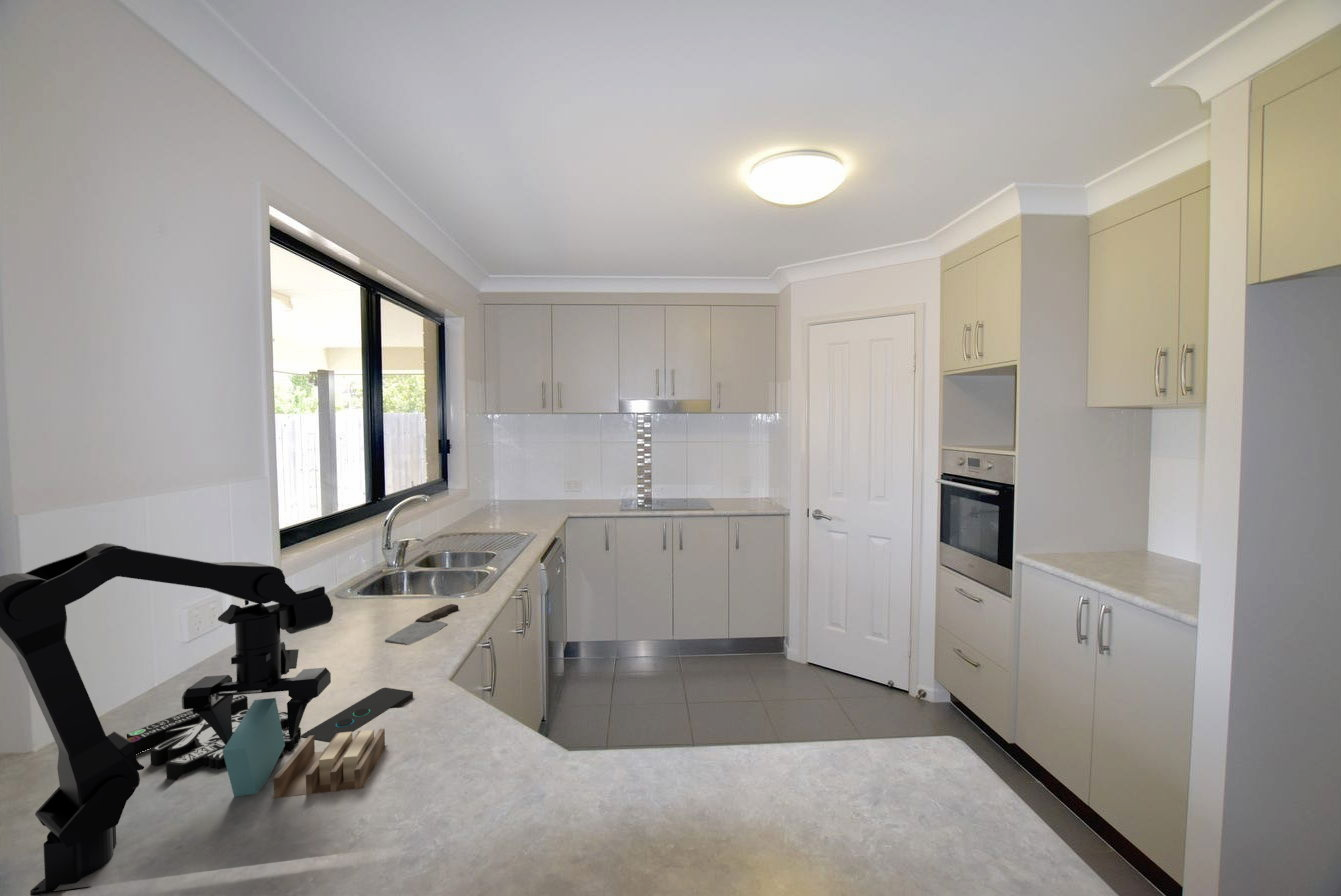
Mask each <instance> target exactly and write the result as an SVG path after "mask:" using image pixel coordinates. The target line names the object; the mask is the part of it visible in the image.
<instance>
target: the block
mask: <svg viewBox="0 0 1341 896" xmlns="http://www.w3.org/2000/svg"><path fill="white" fill-rule="evenodd" d="M248 709H249V710H248V711H247V713H246V714H245V716H244V717H243V719H242V721H241V722H240V724H239V725H238V727H237V729H236V730H235V732H234V733H233V735H232V736H231V738H230V740H229V741H228V743H227V744H226V746H225V748H224V749H223V755H224V759H225V763H226V767H225V768H226V770H227V775H228V778H229V781H230V786H231V791H232V794H233V797H241V796H250V795H256V794H258V793H259V792H260V790H261V789H262V788H263V786H264V785H265V784H266V783H267V782H268V780H269V779H270V776H271V774H272V773H273V770H274V768H275V766H276V764H277V762H278V760H279V759H278V758H279V756H280V754H281V752H282V750H283V749H284V747H285V742H284V737H283V732H282V728H281V723H280V718H279V713H280V712H279V710H278V703H277V699H276V697H273V698H271V697H270V698H263V699H254V700H253V702H252V703H251V705H250V706H249V707H248Z"/></svg>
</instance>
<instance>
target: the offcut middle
mask: <svg viewBox="0 0 1341 896" xmlns="http://www.w3.org/2000/svg"><path fill="white" fill-rule="evenodd" d="M352 740H353V732H342V733H339V734H338V735H337V737H336V738H335V739H334V741H333V742H332V743H331V745H330V746H329V747H328V749H327V750H326V751H325V753H324V754H323V755H322V757H321V758H320V759H319V773H320V785H326V784H331V783H330V772H331V770H332V769H333V767H334V766H335V765H336V763H337V762H338V760H339V759H340V757H341V756H342V754H343V753H344V751H345V750H346V749H347V747H348V746H349V744H350V743H351V741H352Z"/></svg>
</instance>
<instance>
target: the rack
mask: <svg viewBox="0 0 1341 896" xmlns="http://www.w3.org/2000/svg"><path fill="white" fill-rule="evenodd" d="M361 731H362V730H358V731H357V733H356V734H355V736H354V737H352V741H351V743H350V744H349V746H348V747H347V749H346V750H345V751H344V753H343V754H342V756H341V757H340V759H339V760H338V762H337V763H336V765H335V766H334V767H333V769H332V770H331V772H330V783H331V784H326V785H320V773H319V759H320V758H321V757H322V755H323V754H324V753H325V751H326V750H327V749H328V747H329V746H330V745H331V743H332V742H333V741H334V739H335V738H336V737H337V735H338V734H339V733H337V734H336V735H335V737H334V738H333V739H332V741H331V742H328V745H327V746H326V747H325V749H324V750H323V751H316V750H315V749H316V748H315V740H314V735H311V736H308V738H305V740H304V741H303V742H302V743H301V744H300V745H299V747H298V748H297V749H296V751H295V752H294V753H293V754H292V756H291V757H290V758H289V759H288V760H287V761H286V762H285V764H284V765H283V766H282V768H281V769H279V771H278V772H277V773H276V774H275V775H274V777H273V779H272V780H273V795H272V796H271V799H277V798H278V799H279V798H289V797H296V796H305V795H314V794H315V795H316V794H323V793H324V794H325V793H331V792H332V793H333V792H341V791H342V792H343V791H348V790H349V791H351V790H359V789H364V787H366V784H367V782H368V780H369V779H370V777H371V776H372V774H373V771H374V770H375V768H376V766H377V765H378V762H380V759H381V757H382V756H383V754H384V753H385V750H386V748H387V746H388V745H387V744H386V739H385V738H386V736H385V734H386V733H385V728H379V729H378V731H377V733H376V734H375V735H374V739H373V740H372V742H371V744H370V745H369V747H368V749H367V750H366V752H365V753H364V755H363V757H362V758H361V760H360V761H359V763H358V765H357V766H356V768H355V769H354V774H355V781H353V782H344V779H343V757H344V755H345V754H346V752H347V751H348V749H349V748H350V746H351V745H352V744H353V742H354V741H355V739H356V738H357V736H358V735H359V733H360V732H361Z"/></svg>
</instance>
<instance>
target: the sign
mask: <svg viewBox="0 0 1341 896" xmlns="http://www.w3.org/2000/svg"><path fill="white" fill-rule="evenodd" d="M248 704H249V703H248V696H247V695H245V694H243V695H238V696H236V697H233V699H232V703H231V718H232V735H233V733H234V732H235V730H236V729H237V727H238V725H239V724H240V722H241V721H242V719H243V717H244V716H245V714H246V713H247V711H248V710H249V707H248ZM278 713H279V718H280V723H281V728H282V732H283V737H284V742H285V747H284V749H283V750H282V752H281V754H280V756H279V758H278V760H281V759H283V757H284V752H291V751H293V750H294V749H295V745H297V744H299V739H300V738H302V737H301V735H302V732H301V730H302V728H301V727H300V726H299V728H298V731H297V734H296V736H295V737H294V738H293V739H290V735H289V730H288V713H287V712H286V711H282V712H278ZM126 739H128V740H129V741H131V742H132V743H133V745H134V748H135V755H136V754H138V753H140V752H142V751H145V750H147V749H150V748H151V749H150V750H149V753H150V755H149V756H150V766H152V765H153V766H152V767H160V766H162V765H165V764H166V765H165V769H166V770H165V771H166V779H167V780H170V781H172V780H173V781H178V780H179V779H180V778H182V776H183V775H184V776H185V775H187V774H189V773H191V772H193V771H195V770H198V769H200V768H202V767H204V768H207V767H209V769H211V770H212V769H213V770H214V769H215V770H218V771H219V770H222V769H223V768H224V769H225V768H227V767H226V763H225V759H224V755H223V749H224V748H225V746H226V745H225V744H224V743H223V741H222V740H221V739H220V737H219V736H218V735H217V734H216V732H215V731H214V730H213V728H212V727H211V726H210V725H209V724H208V723H207V722H206V721H205V720H204V719H203V718H202V717H201V716H200V715H199V714H193V713H192V709H188V710H187V711H184V712H182V713H179V714H176V715H173V716H171V717H170V716H169V717H168V718H166V719H165V718H164V719H163V720H160V721H157V722H155V723H152V724H149V725H147V726H146V725H145V726H144V727H142V728H139V729H135V730H133V731H131V732H128V733H126Z"/></svg>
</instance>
